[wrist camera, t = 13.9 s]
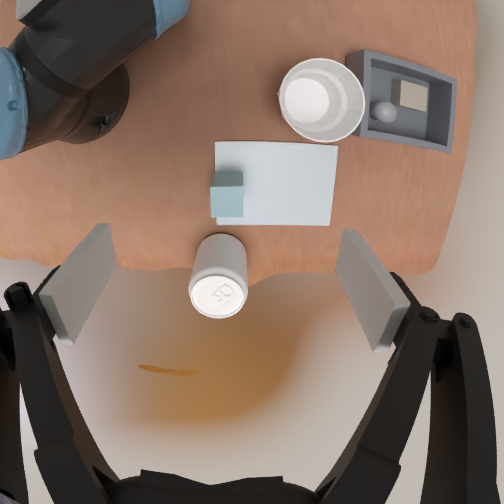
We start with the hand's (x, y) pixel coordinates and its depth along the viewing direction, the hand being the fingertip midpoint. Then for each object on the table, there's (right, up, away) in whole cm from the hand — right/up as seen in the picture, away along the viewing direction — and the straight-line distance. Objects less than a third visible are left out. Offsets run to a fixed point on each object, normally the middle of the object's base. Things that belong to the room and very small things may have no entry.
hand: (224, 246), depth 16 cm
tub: (+23, +23, +21) cm, 39 cm away
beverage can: (-4, -1, +33) cm, 33 cm away
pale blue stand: (+5, +10, +27) cm, 30 cm away
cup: (+9, +21, +21) cm, 31 cm away
